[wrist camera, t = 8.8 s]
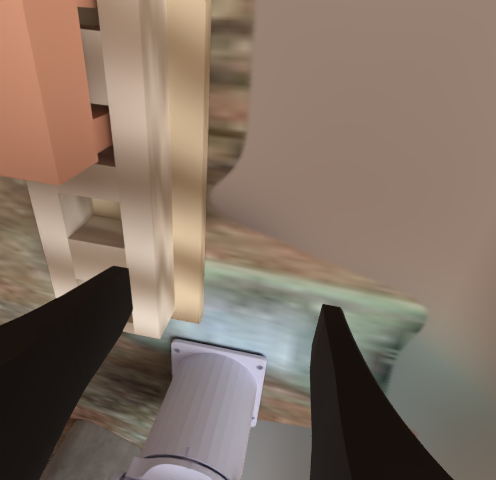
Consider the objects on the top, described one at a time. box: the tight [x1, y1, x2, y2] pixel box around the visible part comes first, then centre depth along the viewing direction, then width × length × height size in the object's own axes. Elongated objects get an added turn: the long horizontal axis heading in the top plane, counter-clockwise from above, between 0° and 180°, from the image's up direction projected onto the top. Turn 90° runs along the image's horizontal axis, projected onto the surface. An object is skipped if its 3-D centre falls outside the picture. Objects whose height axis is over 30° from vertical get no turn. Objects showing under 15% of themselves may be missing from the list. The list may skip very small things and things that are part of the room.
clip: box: [0, 0, 113, 185], centre depth 16 cm, size 8×3×7 cm, turn 175°
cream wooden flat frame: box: [26, 0, 212, 339], centre depth 21 cm, size 24×11×4 cm, turn 175°
